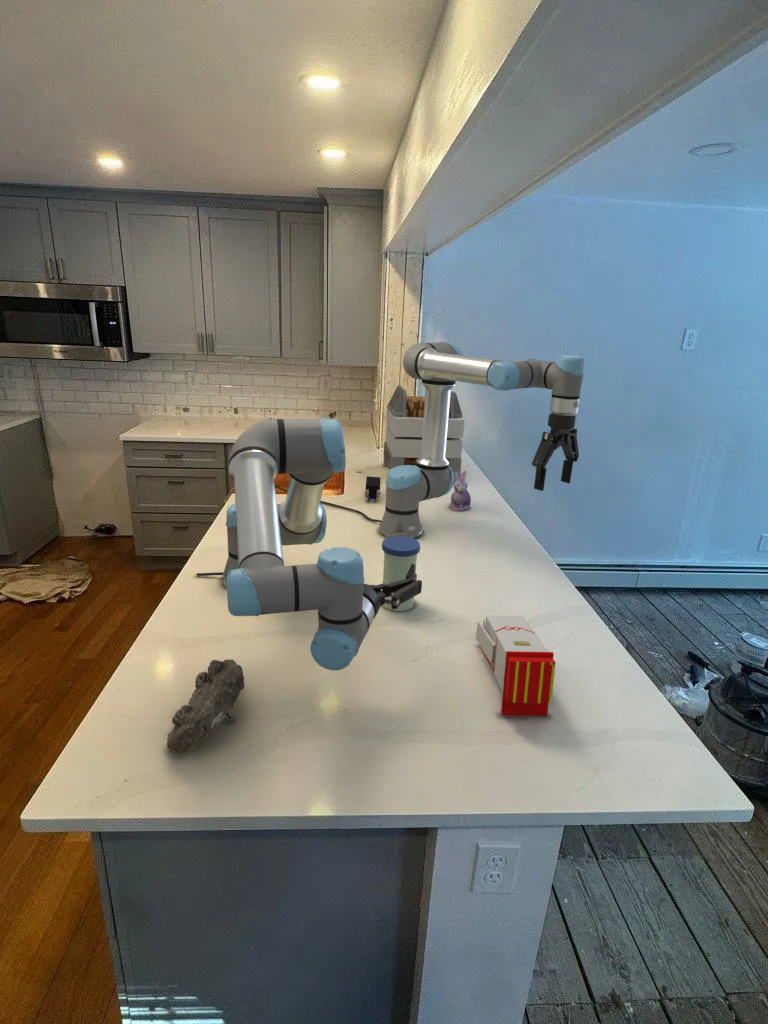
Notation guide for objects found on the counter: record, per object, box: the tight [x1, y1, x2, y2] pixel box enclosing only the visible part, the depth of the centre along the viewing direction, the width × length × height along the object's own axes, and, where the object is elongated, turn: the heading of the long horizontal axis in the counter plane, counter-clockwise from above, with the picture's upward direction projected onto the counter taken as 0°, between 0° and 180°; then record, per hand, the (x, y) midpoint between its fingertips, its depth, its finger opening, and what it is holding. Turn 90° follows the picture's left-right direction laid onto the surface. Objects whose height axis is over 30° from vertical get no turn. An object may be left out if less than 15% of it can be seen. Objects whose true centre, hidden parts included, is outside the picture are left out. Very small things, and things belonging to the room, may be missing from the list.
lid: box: [381, 536, 421, 557], centre depth 147 cm, size 10×10×2 cm
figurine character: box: [364, 475, 381, 503], centre depth 235 cm, size 7×8×15 cm
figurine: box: [449, 470, 472, 511], centre depth 227 cm, size 9×10×15 cm
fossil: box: [166, 658, 245, 754], centre depth 106 cm, size 22×10×15 cm
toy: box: [475, 615, 557, 717], centre depth 123 cm, size 12×13×30 cm
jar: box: [382, 551, 418, 612], centre depth 150 cm, size 9×9×17 cm
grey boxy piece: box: [383, 384, 465, 483], centre depth 268 cm, size 34×33×41 cm
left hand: (383, 565), depth 126 cm, fingers open, 13 cm apart
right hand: (552, 485), depth 166 cm, fingers open, 13 cm apart
